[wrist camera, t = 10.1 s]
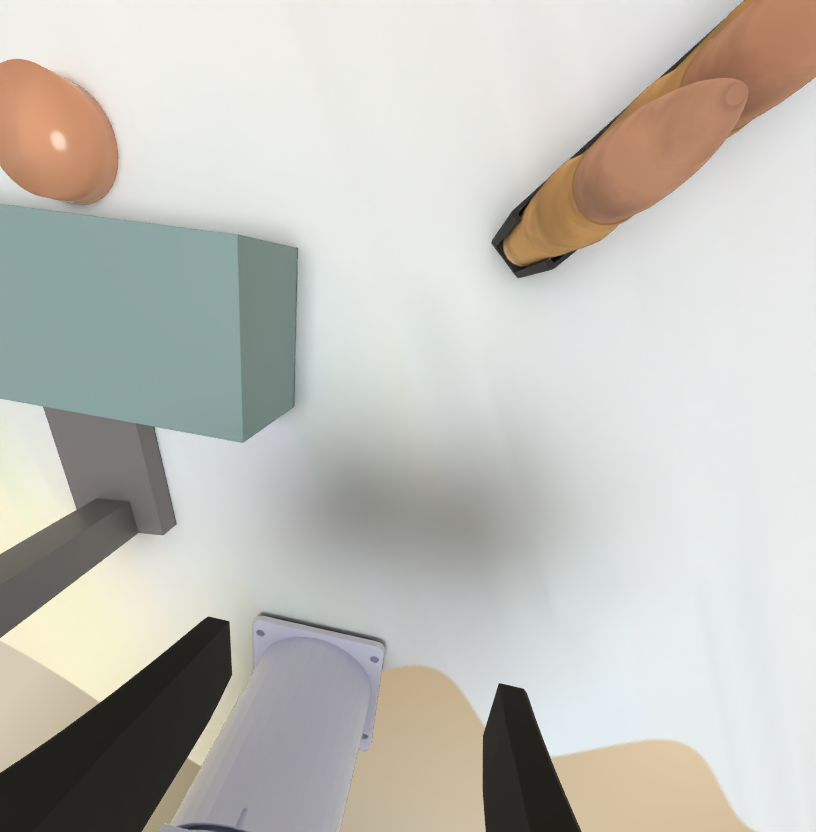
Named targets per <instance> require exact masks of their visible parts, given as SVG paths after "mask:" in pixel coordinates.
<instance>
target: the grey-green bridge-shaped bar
mask: <svg viewBox="0 0 816 832" xmlns="http://www.w3.org/2000/svg"><path fill="white" fill-rule="evenodd" d="M296 286H297V248H294V247H290V246H285V245H281V244H277V243H272V242H268V241H263V240H259V239H254V238H250V237H245V236H241V235H236V234H228V233H220V232H212V231H205V230H197V229H189V228H181V227H174V226H166V225H158V224H150V223H143V222H135V221H127V220H119V219H112V218H104V217H96V216H88V215H81V214H73V213H65V212H57V211H50V210H42V209H34V208H26V207H19V206H11V205H3V204H0V399H6V400H11V401H17V402H22V403H28V404H33V405H39V406H44V407H50V408H55V409H61V410H66V411H72V412H77V413H83V414H88V415H94V416H99V417H104V418H110V419H115V420H121V421H126V422H132V423H137V424H143V425H148V426H154V427H159V428H165V429H170V430H176V431H181V432H187V433H192V434H198V435H203V436H209V437H214V438H220V439H225V440H231V441H236V442H242V443H243V442H245V441H246V440H248V439H249V438H250V437H252V436H253V435H255V434H256V433H257V432H259V431H260V430H262V429H263V428H265V427H266V426H267V425H269V424H270V423H272V422H273V421H274V420H276V419H277V418H279V417H280V416H281V415H283V414H284V413H286V412H287V411H289V410H290V409H291V408H293V407H294V375H295V330H296Z"/></svg>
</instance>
